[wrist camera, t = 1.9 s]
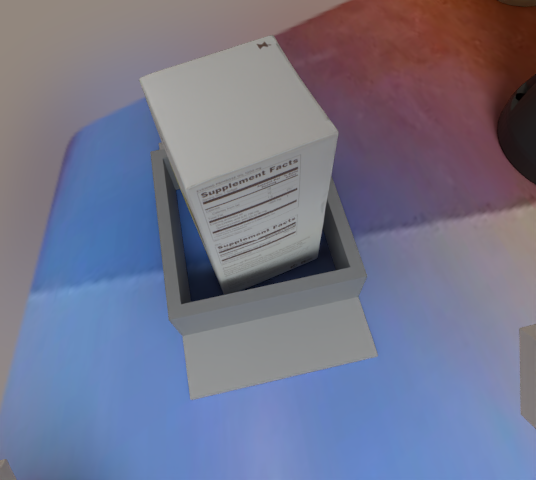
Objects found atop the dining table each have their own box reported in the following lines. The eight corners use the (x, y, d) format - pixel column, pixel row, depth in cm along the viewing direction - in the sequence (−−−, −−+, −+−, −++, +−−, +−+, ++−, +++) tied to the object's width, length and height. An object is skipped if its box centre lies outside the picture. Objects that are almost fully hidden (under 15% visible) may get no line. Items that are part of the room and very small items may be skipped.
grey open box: (297, 119, 45) (298, 82, 41) (376, 356, 34) (390, 341, 29) (160, 146, 44) (146, 111, 40) (191, 400, 33) (176, 390, 28)
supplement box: (190, 215, 40) (133, 72, 25) (277, 181, 42) (271, 27, 27) (225, 301, 36) (182, 190, 21) (321, 260, 38) (343, 130, 23)
